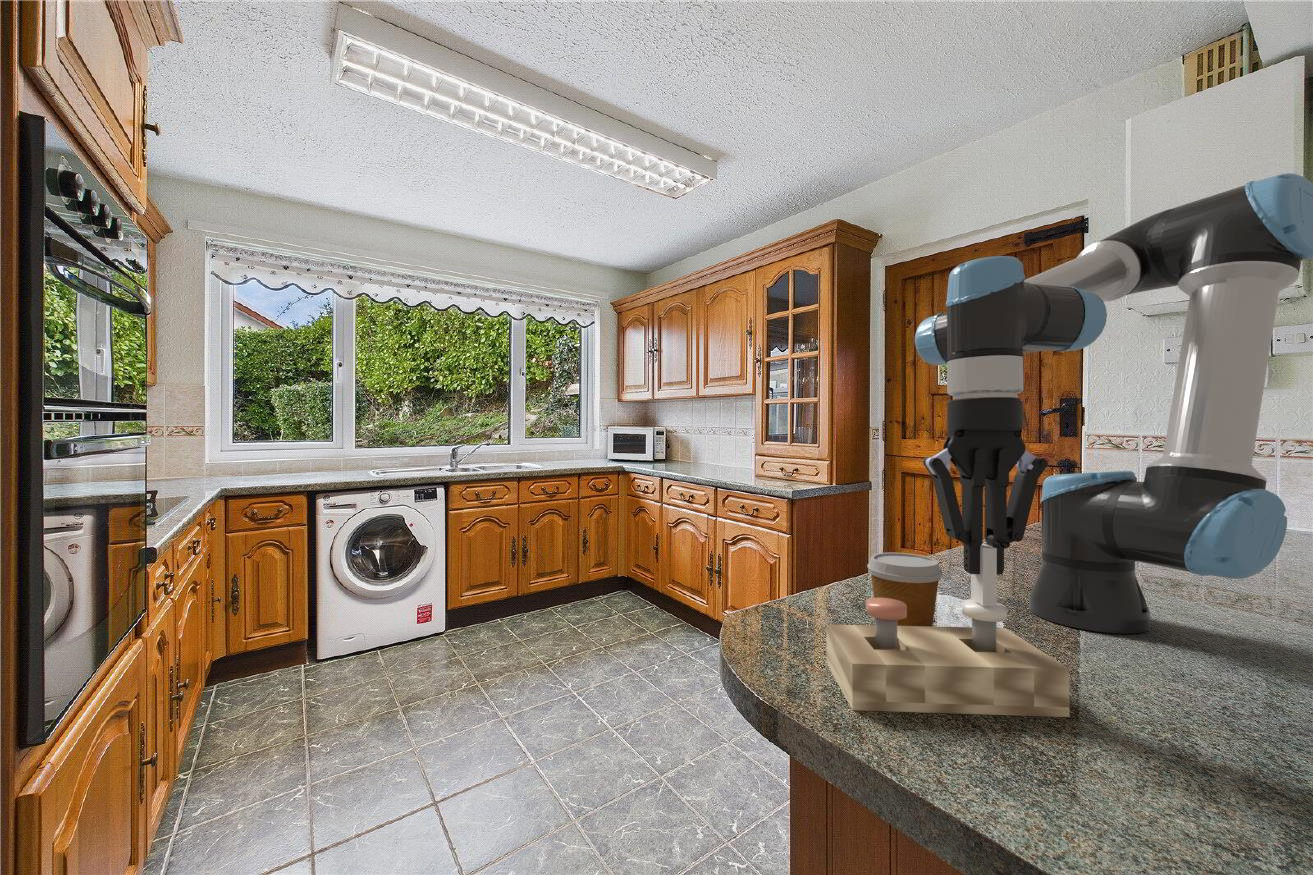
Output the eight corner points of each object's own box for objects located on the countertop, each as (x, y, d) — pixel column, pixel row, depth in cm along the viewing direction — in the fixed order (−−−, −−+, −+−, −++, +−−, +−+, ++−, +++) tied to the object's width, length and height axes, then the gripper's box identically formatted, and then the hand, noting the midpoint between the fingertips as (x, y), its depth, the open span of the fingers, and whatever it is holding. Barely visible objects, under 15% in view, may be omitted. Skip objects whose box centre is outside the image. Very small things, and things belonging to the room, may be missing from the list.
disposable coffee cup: (952, 661, 71) (952, 569, 71) (874, 656, 73) (874, 566, 73) (931, 635, 80) (930, 553, 80) (862, 630, 82) (862, 550, 82)
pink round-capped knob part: (898, 638, 66) (898, 597, 66) (912, 653, 62) (912, 609, 62) (861, 637, 67) (861, 597, 66) (872, 652, 62) (872, 609, 62)
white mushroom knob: (993, 640, 65) (993, 599, 65) (1015, 655, 61) (1015, 611, 61) (955, 639, 66) (955, 598, 66) (973, 654, 61) (973, 610, 61)
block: (1005, 667, 69) (1005, 627, 69) (1069, 717, 57) (1069, 669, 57) (826, 663, 71) (826, 624, 71) (852, 710, 59) (852, 663, 59)
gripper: (1024, 398, 66) (1023, 593, 66) (912, 399, 67) (912, 591, 67) (1065, 394, 59) (1064, 614, 59) (939, 395, 60) (939, 611, 60)
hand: (983, 601), depth 63 cm, fingers closed
